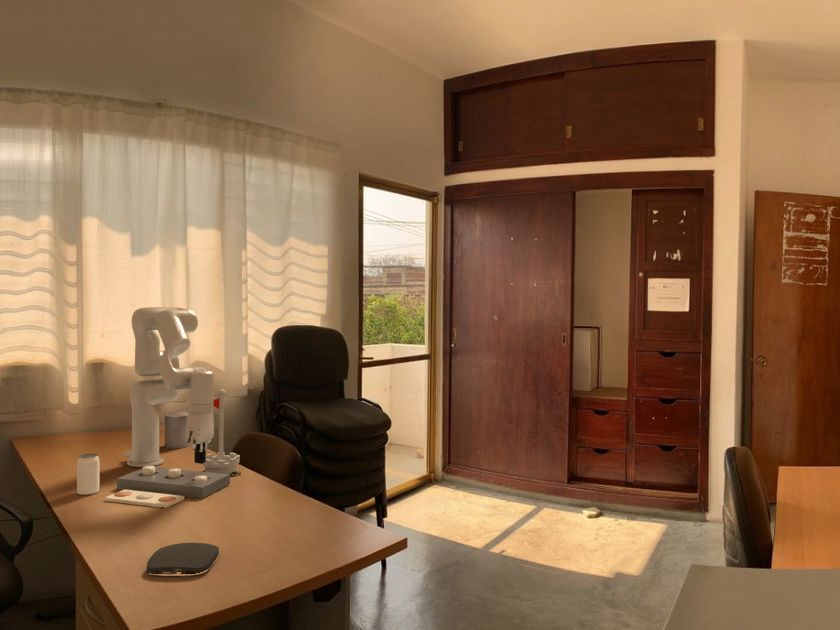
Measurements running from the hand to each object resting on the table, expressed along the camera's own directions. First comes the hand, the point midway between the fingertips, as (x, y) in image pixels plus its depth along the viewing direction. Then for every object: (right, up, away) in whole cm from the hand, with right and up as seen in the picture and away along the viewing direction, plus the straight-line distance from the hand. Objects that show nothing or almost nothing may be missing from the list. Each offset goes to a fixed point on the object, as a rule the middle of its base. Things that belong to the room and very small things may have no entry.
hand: (200, 462), depth 217 cm
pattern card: (-13, -9, -12) cm, 20 cm away
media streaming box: (+16, -12, -59) cm, 62 cm away
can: (-34, -9, -6) cm, 36 cm away
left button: (-19, -6, +5) cm, 20 cm away
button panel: (-9, -9, +2) cm, 13 cm away
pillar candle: (-30, -7, +59) cm, 67 cm away
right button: (0, -8, 0) cm, 8 cm away
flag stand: (0, -8, +23) cm, 24 cm away
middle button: (-9, -6, +2) cm, 11 cm away
